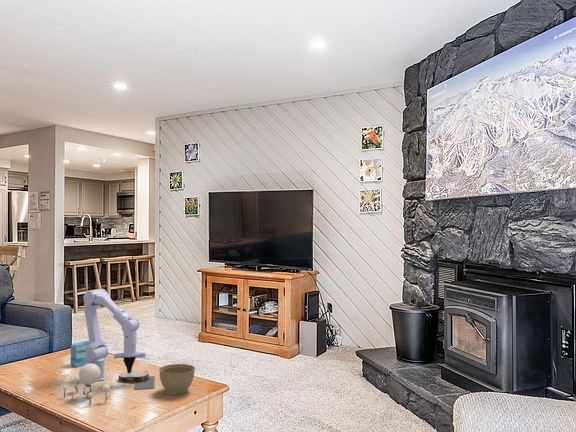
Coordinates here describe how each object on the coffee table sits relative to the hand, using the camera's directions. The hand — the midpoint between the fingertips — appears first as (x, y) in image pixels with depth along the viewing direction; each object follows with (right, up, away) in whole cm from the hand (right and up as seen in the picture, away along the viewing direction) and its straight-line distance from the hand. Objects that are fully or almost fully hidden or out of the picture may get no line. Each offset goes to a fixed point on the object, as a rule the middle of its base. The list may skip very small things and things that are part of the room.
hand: (129, 372), depth 233 cm
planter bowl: (+25, -6, -10) cm, 28 cm away
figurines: (-12, -5, -20) cm, 24 cm away
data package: (-36, -6, +31) cm, 47 cm away
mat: (+7, -6, +2) cm, 9 cm away
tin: (0, -4, +1) cm, 4 cm away
